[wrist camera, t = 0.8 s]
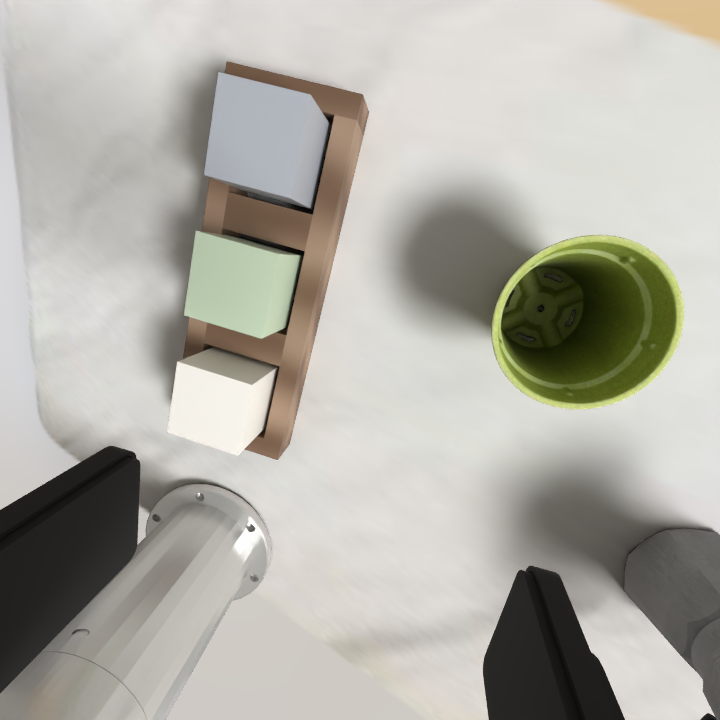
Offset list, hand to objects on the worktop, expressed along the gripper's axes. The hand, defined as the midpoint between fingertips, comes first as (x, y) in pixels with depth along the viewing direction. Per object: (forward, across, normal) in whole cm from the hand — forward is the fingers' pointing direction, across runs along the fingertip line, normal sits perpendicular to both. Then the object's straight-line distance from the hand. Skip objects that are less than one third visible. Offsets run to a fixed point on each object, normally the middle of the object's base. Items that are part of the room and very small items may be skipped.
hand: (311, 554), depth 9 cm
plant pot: (+24, -10, -5) cm, 26 cm away
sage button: (+21, +11, -3) cm, 24 cm away
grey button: (+21, +10, -12) cm, 26 cm away
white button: (+21, +11, +6) cm, 24 cm away
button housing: (+23, +11, -3) cm, 26 cm away
